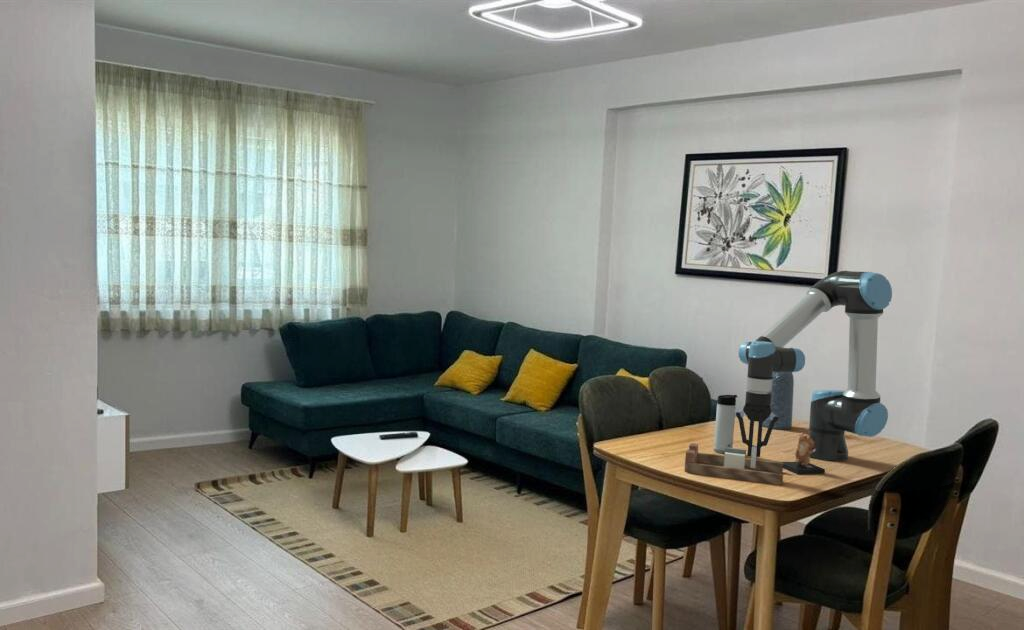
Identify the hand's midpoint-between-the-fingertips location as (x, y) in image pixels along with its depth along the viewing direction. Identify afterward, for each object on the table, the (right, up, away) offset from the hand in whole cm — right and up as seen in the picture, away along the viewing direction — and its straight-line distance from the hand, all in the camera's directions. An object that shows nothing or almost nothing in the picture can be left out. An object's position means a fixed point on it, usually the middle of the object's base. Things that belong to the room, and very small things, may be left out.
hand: (752, 466), depth 262 cm
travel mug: (-2, 0, +30) cm, 30 cm away
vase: (+32, +2, +81) cm, 87 cm away
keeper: (-5, -2, +2) cm, 6 cm away
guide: (-5, -2, +2) cm, 6 cm away
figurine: (+19, -3, +10) cm, 21 cm away
